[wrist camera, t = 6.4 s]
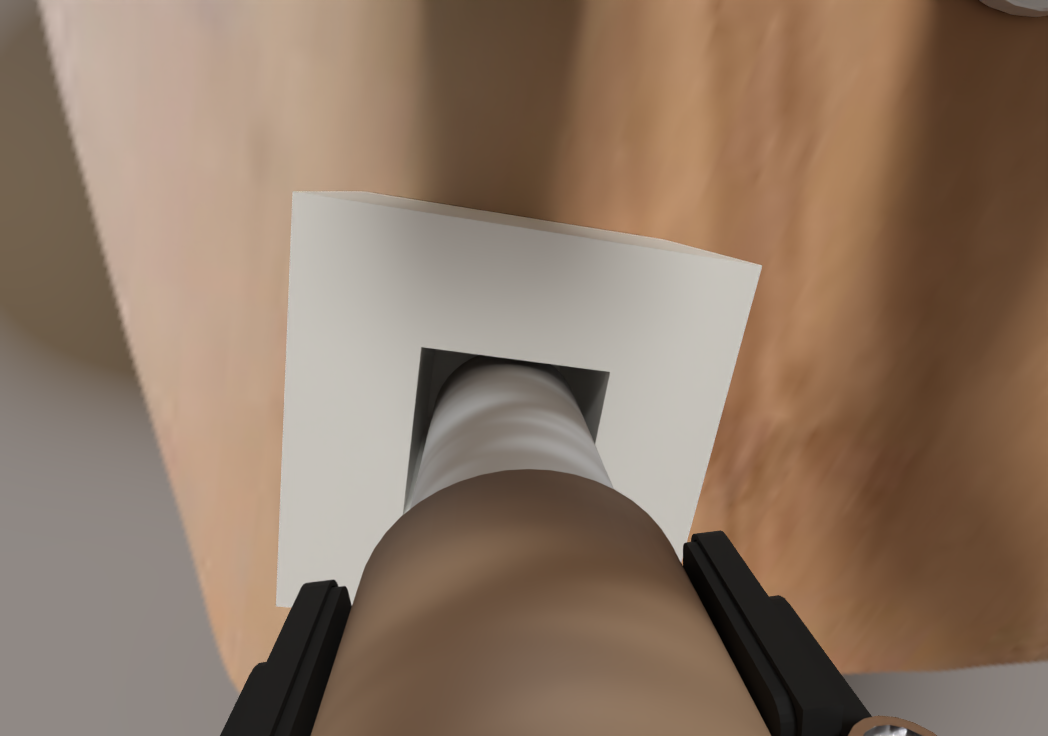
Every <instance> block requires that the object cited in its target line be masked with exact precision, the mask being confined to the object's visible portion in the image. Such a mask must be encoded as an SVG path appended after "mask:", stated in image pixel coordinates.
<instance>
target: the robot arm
mask: <svg viewBox="0 0 1048 736" xmlns="http://www.w3.org/2000/svg"><path fill="white" fill-rule="evenodd" d="M980 1H981V2H983V3H984V4H986V5H987V6H989V7H991V8H994V9H997V10H1000V11H1003V12H1006V13H1008V14H1011V15H1020V16H1030V17H1042V16H1048V0H980ZM683 567H684V569H685V571H686V573H687V575H688V577H689V579H690V581H691V583H692V585H693V587H694V589H695V590H696V592H697V594H698V596H699V598H700V600H701V602H702V604H703V606H704V608H705V610H706V612H707V613H708V615H709V617H710V619H711V621H712V623H713V625H714V627H715V629H716V631H717V633H718V635H719V636H720V638H721V640H722V642H723V644H724V646H725V648H726V650H727V652H728V654H729V656H730V658H731V659H732V661H733V663H734V665H735V667H736V669H737V671H738V673H739V675H740V677H741V679H742V681H743V682H744V684H745V686H746V688H747V690H748V692H749V694H750V696H751V698H752V700H753V702H754V704H755V705H756V707H757V709H758V711H759V713H760V715H761V717H762V719H763V721H764V723H765V725H766V727H767V728H768V730H769V732H770V734H771V736H937V735H936V734H934V733H933V732H931V731H929V730H927V729H925V728H923V727H921V726H919V725H918V724H916V723H913V722H910V721H907V720H904V719H900V718H897V717H888V716H874V717H872V716H871V715H870V713H869V712H868V711H867V709H866V708H865V707H864V705H863V704H862V702H861V701H860V700H859V698H858V697H857V696H856V694H855V693H854V692H853V690H852V689H851V687H850V686H849V685H848V683H847V682H846V681H845V679H844V678H843V676H842V675H841V674H840V672H839V671H838V670H837V668H836V667H835V665H834V664H833V663H832V661H831V660H830V659H829V657H828V656H827V655H826V653H825V652H824V650H823V649H822V648H821V646H820V645H819V644H818V642H817V641H816V640H815V638H814V637H813V635H812V634H811V633H810V631H809V630H808V629H807V627H806V626H805V624H804V623H803V622H802V620H801V619H800V618H799V616H798V615H797V614H796V612H795V611H794V609H793V608H792V607H791V605H790V604H789V603H788V602H787V601H786V600H785V598H783V597H781V596H779V595H778V596H770V597H769V596H768V595H767V593H766V592H765V591H764V589H763V588H762V586H761V585H760V583H759V582H758V580H757V579H756V578H755V576H754V575H753V573H752V572H751V570H750V569H749V568H748V566H747V565H746V563H745V562H744V560H743V559H742V557H741V556H740V555H739V553H738V552H737V550H736V549H735V547H734V546H733V544H732V543H731V542H730V540H729V539H728V537H727V536H726V534H725V533H724V532H723V531H713V532H705V533H697V534H693V535H692V538H691V542H687V543H684V545H683ZM351 608H352V605H351V601H350V597H349V592H348V589H347V587H346V586H340V587H338V584H337V582H336V580H325V581H317V582H309V583H305V584H303V585H302V587H301V588H300V591H299V593H298V595H297V597H296V599H295V601H294V604H293V606H292V608H291V610H290V612H289V614H288V617H287V619H286V621H285V623H284V625H283V627H282V630H281V632H280V634H279V636H278V638H277V640H276V643H275V645H274V647H273V649H272V651H271V653H270V656H269V658H268V660H267V662H263V663H259V664H258V665H256V666H255V667H254V669H253V670H252V672H251V673H250V675H249V677H248V679H247V681H246V683H245V685H244V687H243V690H242V692H241V694H240V696H239V698H238V700H237V702H236V704H235V706H234V708H233V710H232V712H231V714H230V716H229V718H228V721H227V723H226V725H225V727H224V729H223V731H222V733H221V735H220V736H311V733H312V730H313V726H314V723H315V720H316V717H317V714H318V711H319V708H320V705H321V701H322V698H323V695H324V692H325V689H326V686H327V683H328V680H329V676H330V673H331V670H332V667H333V664H334V661H335V658H336V654H337V651H338V648H339V645H340V642H341V639H342V636H343V633H344V629H345V626H346V623H347V620H348V617H349V614H350V611H351Z"/></svg>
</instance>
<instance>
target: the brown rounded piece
mask: <svg viewBox="0 0 1048 736" xmlns="http://www.w3.org/2000/svg"><path fill="white" fill-rule="evenodd" d="M311 736H771V734H770V732H769V730H768V728H767V727H766V725H765V723H764V721H763V719H762V717H761V715H760V713H759V711H758V709H757V707H756V705H755V704H754V702H753V700H752V698H751V696H750V694H749V692H748V690H747V688H746V686H745V684H744V682H743V681H742V679H741V677H740V675H739V673H738V671H737V669H736V667H735V665H734V663H733V661H732V659H731V658H730V656H729V654H728V652H727V650H726V648H725V646H724V644H723V642H722V640H721V638H720V636H719V635H718V633H717V631H716V629H715V627H714V625H713V623H712V621H711V619H710V617H709V615H708V613H707V612H706V610H705V608H704V606H703V604H702V602H701V600H700V598H699V596H698V594H697V592H696V590H695V589H694V587H693V585H692V583H691V581H690V579H689V577H688V575H687V573H686V571H685V569H684V567H683V566H682V564H681V562H680V560H679V558H678V556H677V554H676V552H675V550H674V548H673V546H672V544H671V543H670V541H669V540H668V538H667V537H666V535H665V534H664V532H663V530H662V529H661V528H660V527H659V525H658V524H657V523H656V522H655V521H654V520H653V519H652V518H651V516H650V515H649V514H648V513H647V512H645V511H644V510H643V509H642V508H641V507H640V506H638V505H637V504H636V503H635V502H634V501H632V500H631V499H629V498H627V497H626V496H624V495H623V494H621V493H619V492H618V491H616V490H615V489H614V488H613V485H612V483H611V481H610V478H609V476H608V474H607V471H606V469H605V467H604V464H603V462H602V460H601V457H600V455H599V453H598V450H597V448H596V446H595V443H594V441H593V439H592V436H591V434H590V432H589V429H588V427H587V425H586V422H585V420H584V418H583V415H582V413H581V410H580V408H579V406H578V403H577V401H576V399H575V396H574V394H573V392H572V390H571V388H570V385H569V384H568V382H567V381H566V379H565V378H564V377H563V376H562V374H561V373H560V372H559V371H558V370H557V369H556V368H555V367H553V366H552V365H551V364H546V363H538V362H531V361H523V360H516V359H508V358H501V357H493V356H485V355H478V356H476V357H473V358H471V359H469V360H468V361H466V362H464V363H463V364H461V365H460V366H459V367H458V368H456V369H455V370H454V371H453V372H452V373H451V374H450V375H449V377H448V378H447V379H446V381H445V382H444V383H443V385H442V387H441V389H440V391H439V393H438V395H437V398H436V401H435V405H434V409H433V413H432V418H431V422H430V426H429V430H428V435H427V439H426V443H425V447H424V452H423V456H422V460H421V464H420V469H419V473H418V477H417V481H416V486H415V490H414V494H413V498H412V503H411V507H410V510H409V511H407V512H406V513H405V514H404V515H402V516H401V517H400V518H399V519H398V520H397V521H396V522H395V523H394V524H393V525H392V526H391V528H390V529H389V530H388V531H387V532H386V533H385V534H384V536H383V537H382V539H381V540H380V541H379V543H378V544H377V545H376V547H375V548H374V550H373V552H372V554H371V556H370V558H369V560H368V562H367V563H366V565H365V568H364V571H363V574H362V577H361V580H360V583H359V586H358V589H357V592H356V595H355V598H354V601H353V604H352V608H351V611H350V614H349V617H348V620H347V623H346V626H345V629H344V633H343V636H342V639H341V642H340V645H339V648H338V651H337V654H336V658H335V661H334V664H333V667H332V670H331V673H330V676H329V680H328V683H327V686H326V689H325V692H324V695H323V698H322V701H321V705H320V708H319V711H318V714H317V717H316V720H315V723H314V726H313V730H312V733H311Z"/></svg>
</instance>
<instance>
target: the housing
mask: <svg viewBox="0 0 1048 736" xmlns="http://www.w3.org/2000/svg"><path fill="white" fill-rule="evenodd" d="M761 268H762V265H758V264H754V263H751V262H747V261H743V260H739V259H736V258H732V257H728V256H724V255H721V254H717V253H713V252H709V251H706V250H702V249H698V248H694V247H691V246H687V245H683V244H679V243H676V242H672V241H668V240H664V239H658V238H652V237H646V236H640V235H633V234H627V233H621V232H615V231H608V230H602V229H596V228H590V227H583V226H577V225H571V224H565V223H558V222H552V221H546V220H540V219H533V218H527V217H521V216H515V215H508V214H502V213H496V212H490V211H483V210H477V209H471V208H465V207H458V206H452V205H446V204H440V203H433V202H427V201H421V200H415V199H408V198H402V197H396V196H390V195H383V194H377V193H371V192H365V191H293V197H292V221H291V246H290V271H289V296H288V321H287V345H286V370H285V395H284V420H283V445H282V469H281V494H280V519H279V544H278V569H277V593H276V606H279V607H292V606H293V604H294V601H295V599H296V597H297V595H298V593H299V591H300V588H301V587H302V585H303V584H305V583H309V582H317V581H325V580H336V582H337V584H338V587H340V586H346V587H347V589H348V592H349V597H350V601H351V605H352V604H353V601H354V598H355V595H356V592H357V589H358V586H359V583H360V580H361V577H362V574H363V571H364V568H365V565H366V563H367V562H368V560H369V558H370V556H371V554H372V552H373V550H374V548H375V547H376V545H377V544H378V543H379V541H380V540H381V539H382V537H383V536H384V534H385V533H386V532H387V531H388V530H389V529H390V528H391V526H392V525H393V524H394V523H395V522H396V521H397V520H398V519H399V518H400V517H401V516H402V515H404V514H405V513H406V512H407V511H409V510H410V507H411V503H412V498H413V494H414V490H415V486H416V481H417V477H418V473H419V469H420V464H421V460H422V456H423V452H424V447H425V443H426V439H427V435H428V430H429V426H430V422H431V418H432V413H433V409H434V405H435V401H436V398H437V395H438V393H439V391H440V389H441V387H442V385H443V383H444V382H445V381H446V379H447V378H448V377H449V375H450V374H451V373H452V372H453V371H454V370H455V369H456V368H458V367H459V366H460V365H461V364H463V363H464V362H466V361H468V360H469V359H471V358H473V357H476V356H478V355H485V356H493V357H501V358H508V359H516V360H523V361H531V362H538V363H546V364H551V365H552V366H553V367H555V368H556V369H557V370H558V371H559V372H560V373H561V374H562V376H563V377H564V378H565V379H566V381H567V382H568V384H569V385H570V388H571V390H572V392H573V394H574V396H575V399H576V401H577V403H578V406H579V408H580V410H581V413H582V415H583V418H584V420H585V422H586V425H587V427H588V429H589V432H590V434H591V436H592V439H593V441H594V443H595V446H596V448H597V450H598V453H599V455H600V457H601V460H602V462H603V464H604V467H605V469H606V471H607V474H608V476H609V478H610V481H611V483H612V485H613V488H614V489H615V490H616V491H618V492H619V493H621V494H623V495H624V496H626V497H627V498H629V499H631V500H632V501H634V502H635V503H636V504H637V505H638V506H640V507H641V508H642V509H643V510H644V511H645V512H647V513H648V514H649V515H650V516H651V518H652V519H653V520H654V521H655V522H656V523H657V524H658V525H659V527H660V528H661V529H662V530H663V532H664V534H665V535H666V537H667V538H668V540H669V541H670V543H671V544H672V546H673V548H674V550H675V552H676V554H677V556H678V558H679V560H680V562H681V561H682V558H683V545H684V543H687V539H688V536H689V532H690V528H691V525H692V521H693V517H694V514H695V510H696V506H697V503H698V499H699V495H700V492H701V488H702V484H703V481H704V477H705V473H706V470H707V466H708V462H709V459H710V455H711V451H712V448H713V444H714V440H715V437H716V433H717V429H718V426H719V422H720V418H721V415H722V411H723V407H724V404H725V400H726V396H727V393H728V389H729V385H730V382H731V378H732V374H733V371H734V367H735V363H736V360H737V356H738V352H739V349H740V345H741V341H742V338H743V334H744V330H745V327H746V323H747V319H748V316H749V312H750V308H751V305H752V301H753V297H754V294H755V290H756V286H757V283H758V279H759V275H760V272H761Z"/></svg>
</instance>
